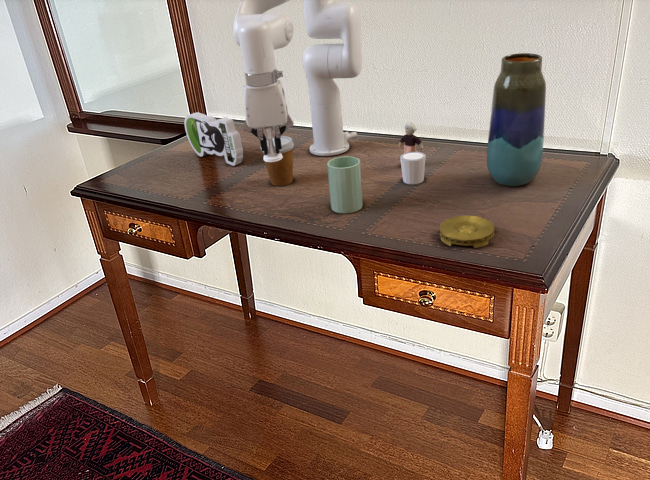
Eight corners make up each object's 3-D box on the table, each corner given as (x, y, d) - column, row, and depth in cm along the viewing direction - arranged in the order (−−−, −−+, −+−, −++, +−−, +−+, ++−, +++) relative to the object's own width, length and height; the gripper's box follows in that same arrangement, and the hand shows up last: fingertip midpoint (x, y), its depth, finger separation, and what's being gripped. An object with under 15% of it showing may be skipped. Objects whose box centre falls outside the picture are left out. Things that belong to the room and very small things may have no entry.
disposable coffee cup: (283, 172, 187) (277, 133, 180) (305, 179, 181) (300, 138, 174) (258, 183, 182) (252, 143, 175) (280, 190, 176) (274, 149, 169)
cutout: (239, 121, 188) (188, 104, 202) (232, 124, 186) (181, 106, 201) (245, 168, 197) (195, 149, 211) (238, 171, 195) (188, 151, 209)
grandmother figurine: (396, 167, 182) (394, 124, 175) (399, 162, 185) (398, 120, 178) (422, 169, 179) (422, 125, 173) (425, 164, 182) (425, 120, 176)
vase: (549, 176, 167) (563, 53, 150) (523, 195, 159) (535, 66, 142) (502, 167, 175) (509, 49, 158) (475, 184, 167) (480, 61, 150)
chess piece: (280, 162, 157) (274, 122, 152) (261, 162, 158) (254, 123, 153) (284, 154, 161) (279, 116, 156) (266, 155, 162) (260, 116, 157)
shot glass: (429, 176, 174) (429, 152, 171) (421, 186, 169) (421, 161, 166) (405, 174, 177) (404, 150, 173) (397, 184, 172) (396, 159, 168)
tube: (351, 197, 168) (348, 153, 161) (368, 206, 161) (366, 162, 155) (325, 205, 164) (321, 162, 158) (341, 216, 158) (338, 171, 152)
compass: (434, 245, 141) (434, 237, 140) (445, 222, 150) (445, 214, 149) (489, 250, 137) (490, 241, 136) (497, 226, 146) (497, 217, 145)
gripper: (295, 70, 151) (304, 144, 162) (229, 77, 152) (242, 150, 162) (294, 79, 145) (303, 155, 155) (225, 86, 146) (239, 161, 156)
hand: (272, 152), depth 159 cm, fingers closed on chess piece
